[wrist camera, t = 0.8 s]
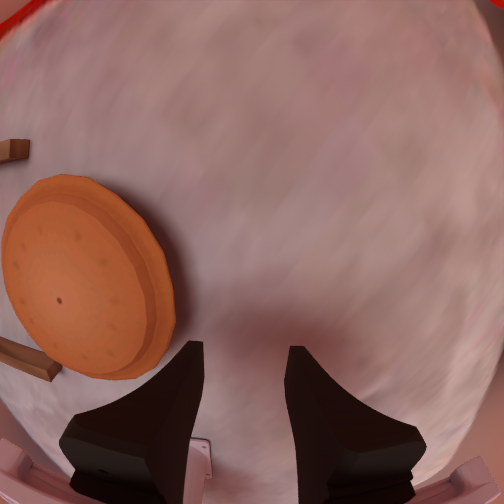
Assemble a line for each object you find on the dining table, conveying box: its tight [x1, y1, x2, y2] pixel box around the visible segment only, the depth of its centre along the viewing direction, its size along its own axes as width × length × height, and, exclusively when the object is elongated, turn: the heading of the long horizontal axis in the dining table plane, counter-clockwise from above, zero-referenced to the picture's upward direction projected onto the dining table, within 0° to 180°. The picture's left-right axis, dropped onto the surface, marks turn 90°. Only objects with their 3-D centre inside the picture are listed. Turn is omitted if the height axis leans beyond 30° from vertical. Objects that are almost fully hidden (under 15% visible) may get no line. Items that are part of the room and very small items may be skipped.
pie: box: [2, 174, 176, 380], centre depth 17 cm, size 16×16×5 cm
